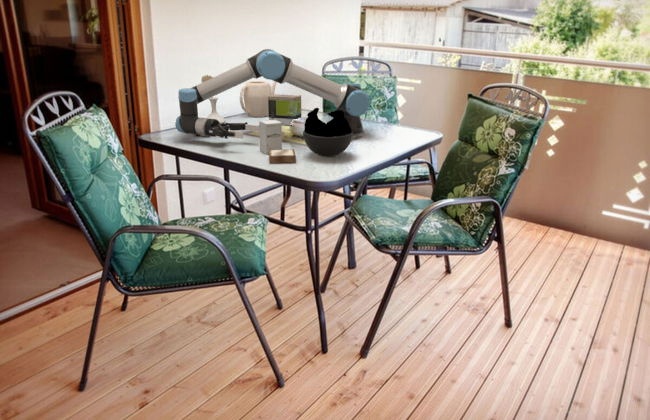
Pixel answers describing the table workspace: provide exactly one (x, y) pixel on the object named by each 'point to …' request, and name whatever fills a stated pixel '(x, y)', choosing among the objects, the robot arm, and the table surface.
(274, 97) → the tea box
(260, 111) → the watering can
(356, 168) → the table surface
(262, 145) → the supplement box
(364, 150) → the table surface
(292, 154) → the walnut base
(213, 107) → the flower in vase
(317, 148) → the bowl of black rocks
